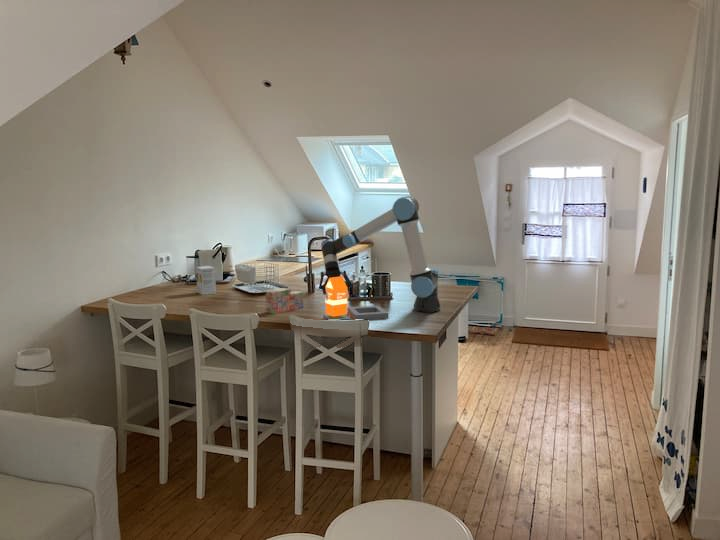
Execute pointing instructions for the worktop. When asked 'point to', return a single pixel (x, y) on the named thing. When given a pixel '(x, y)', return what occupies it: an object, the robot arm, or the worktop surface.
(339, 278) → the orange juice
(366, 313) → the puzzle board
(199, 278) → the supplement box
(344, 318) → the mat
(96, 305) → the worktop surface
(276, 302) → the patterned cardboard box
